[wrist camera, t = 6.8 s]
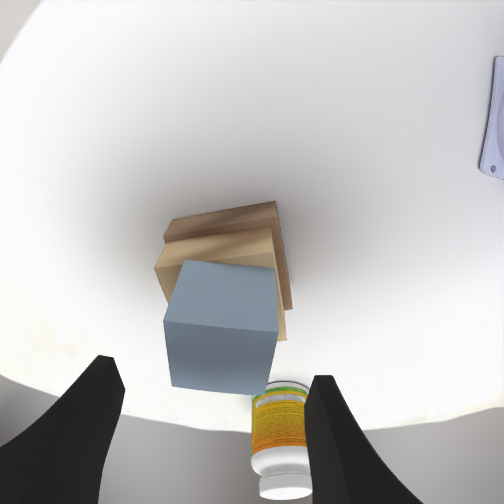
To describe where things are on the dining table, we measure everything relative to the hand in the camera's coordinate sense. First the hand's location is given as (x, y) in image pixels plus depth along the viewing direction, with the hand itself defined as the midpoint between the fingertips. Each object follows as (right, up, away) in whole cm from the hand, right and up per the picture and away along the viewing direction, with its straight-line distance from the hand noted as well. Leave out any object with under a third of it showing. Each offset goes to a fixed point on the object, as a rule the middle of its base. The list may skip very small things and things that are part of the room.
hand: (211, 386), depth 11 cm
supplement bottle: (+4, -8, +16) cm, 19 cm away
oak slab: (0, +3, +7) cm, 8 cm away
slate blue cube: (0, +3, +5) cm, 5 cm away
